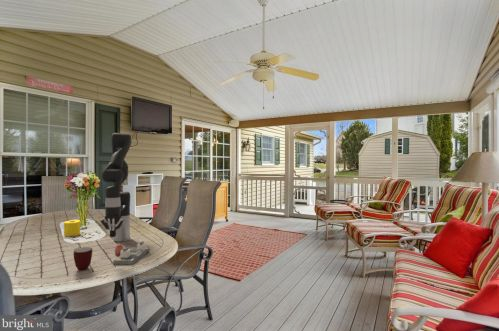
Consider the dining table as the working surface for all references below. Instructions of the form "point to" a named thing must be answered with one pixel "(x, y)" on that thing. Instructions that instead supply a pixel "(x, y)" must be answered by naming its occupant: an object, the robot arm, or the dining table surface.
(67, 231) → the yellow cylinder
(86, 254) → the mug
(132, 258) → the panel
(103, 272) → the dining table surface
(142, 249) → the toggle
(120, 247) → the cap
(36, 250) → the dining table surface
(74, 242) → the dining table surface
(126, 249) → the toggle
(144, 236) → the dining table surface
